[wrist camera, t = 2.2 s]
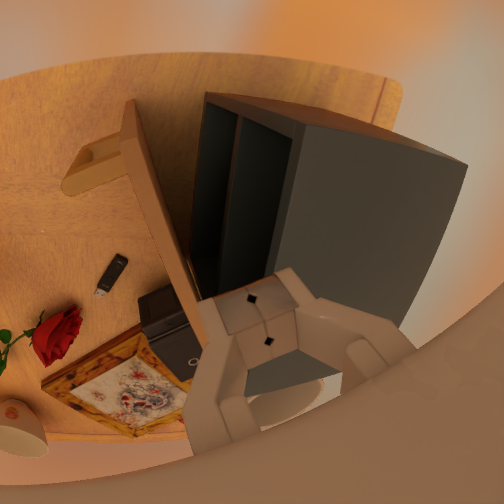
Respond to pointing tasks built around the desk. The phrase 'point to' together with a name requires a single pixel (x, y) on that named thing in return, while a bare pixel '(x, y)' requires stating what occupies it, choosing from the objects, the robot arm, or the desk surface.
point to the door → (149, 197)
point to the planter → (284, 403)
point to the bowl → (21, 430)
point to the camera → (170, 332)
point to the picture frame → (121, 386)
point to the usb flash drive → (111, 275)
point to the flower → (48, 337)
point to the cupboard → (315, 212)
